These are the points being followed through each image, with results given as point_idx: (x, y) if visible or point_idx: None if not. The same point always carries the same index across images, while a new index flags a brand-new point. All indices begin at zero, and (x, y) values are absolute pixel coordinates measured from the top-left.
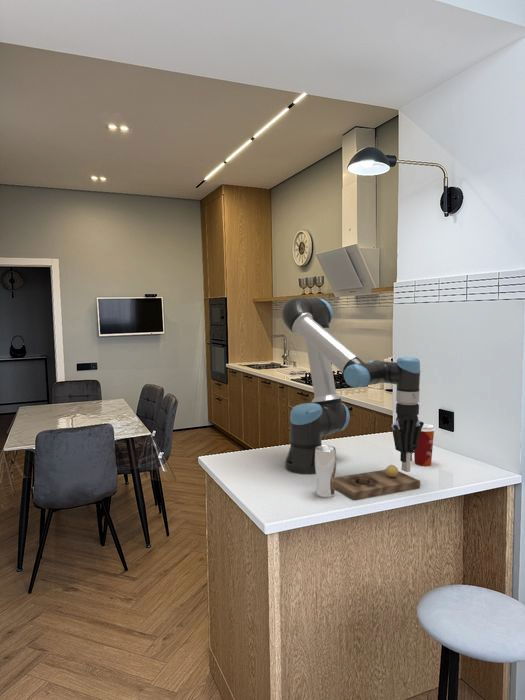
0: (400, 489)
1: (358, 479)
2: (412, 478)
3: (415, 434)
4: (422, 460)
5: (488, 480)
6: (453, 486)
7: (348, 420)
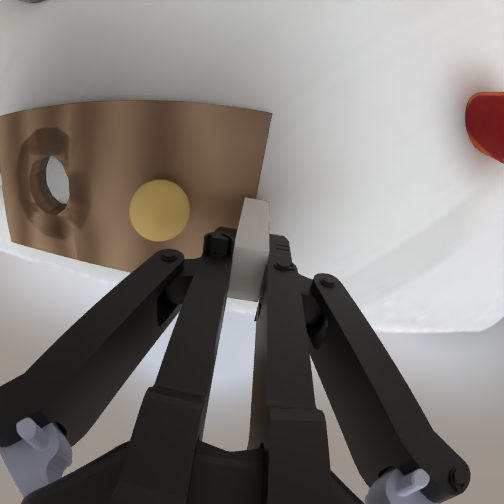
0: None
1: (51, 154)
2: None
3: (347, 403)
4: (481, 138)
5: (445, 329)
6: None
7: None
